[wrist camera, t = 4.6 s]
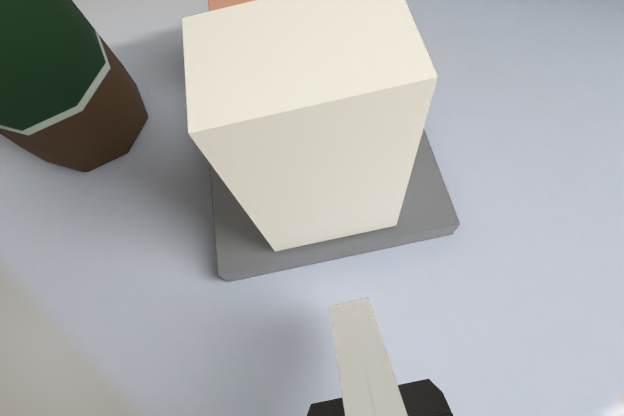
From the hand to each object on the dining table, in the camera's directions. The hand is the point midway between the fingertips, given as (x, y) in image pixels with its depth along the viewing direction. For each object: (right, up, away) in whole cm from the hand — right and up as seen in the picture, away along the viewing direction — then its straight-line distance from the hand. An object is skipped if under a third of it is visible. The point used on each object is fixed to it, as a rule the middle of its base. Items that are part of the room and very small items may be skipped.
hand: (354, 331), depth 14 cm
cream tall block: (-1, +5, +5) cm, 7 cm away
